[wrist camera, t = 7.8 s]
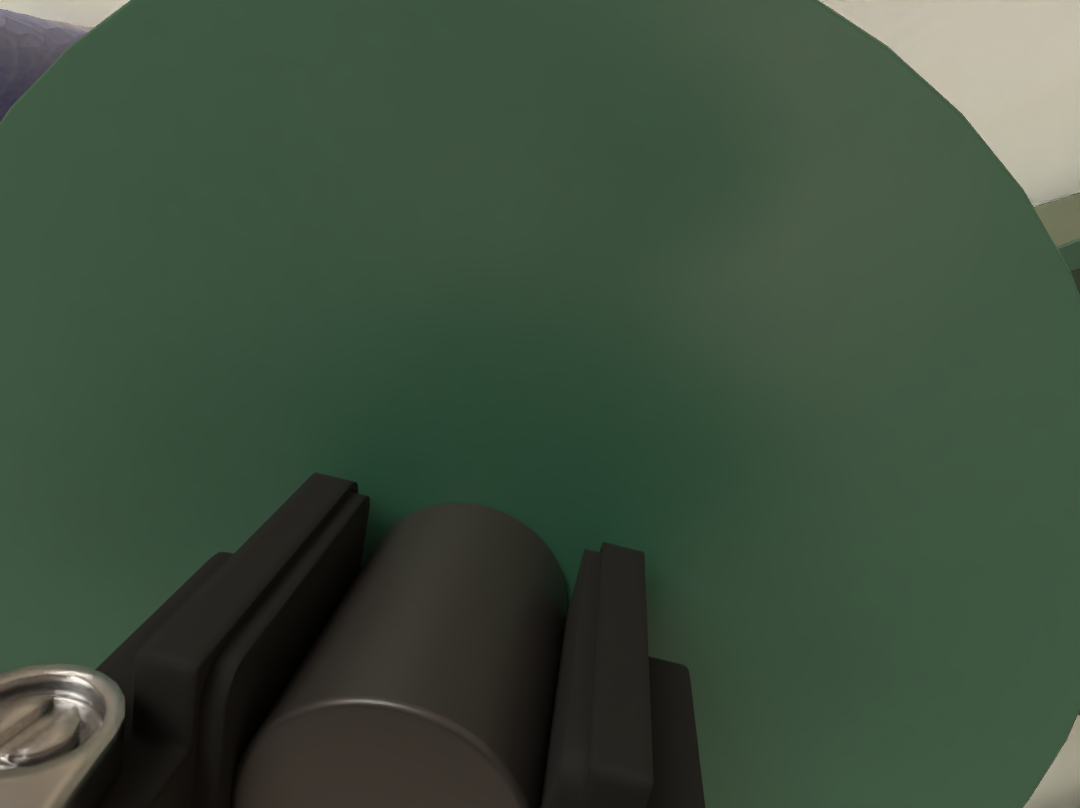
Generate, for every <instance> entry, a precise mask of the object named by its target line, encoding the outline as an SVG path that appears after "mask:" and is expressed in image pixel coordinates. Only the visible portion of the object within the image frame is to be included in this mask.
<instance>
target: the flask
mask: <svg viewBox="0 0 1080 808" xmlns="http://www.w3.org/2000/svg"><path fill="white" fill-rule="evenodd" d="M92 29H93V28H91V27H85V26H79V25H72V24H68V23H63V22H57V21H51V20H44V19H40V18H36V17H33V16H29V15H25V14H19V13H15V12H12V11H8V10H2V9H0V122H1V121H2V119H3V118H4V116H5V115H6V113H7V112H8V110H9V109H10V108H11V106H12V105H13V104H14V103H15V102H16V101H17V100H18V99H19V98H20V97H21V96H22V95H23V94H24V93H25V92H26V91H27V90H28V89H29V88H30V87H31V86H32V85H33V83H34V82H35V81H36V80H37V79H38V78H39V77H40V76H41V75H42V74H43V73H44V72H45V71H46V70H47V69H48V68H49V67H50V66H51V65H52V64H53V63H54V62H55V61H56V60H57V58H58V57H59V56H60V55H61V54H62V53H63V52H64V51H65V50H66V49H67V48H68V47H69V46H71V45H72V44H73V43H75V42H76V41H77V40H79V39H80V38H81V37H83V36H84V35H85V34H86V33H88V32H89V31H90V30H92Z"/></svg>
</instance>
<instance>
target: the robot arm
mask: <svg viewBox="0 0 1080 808" xmlns="http://www.w3.org/2000/svg"><path fill="white" fill-rule="evenodd" d="M369 508H370V498H369V496H366V495H362V494H358V484H357V482H354V481H350V480H346V479H341V478H337V477H333V476H329V475H325V474H321V473H316V472H315V473H314V474H312V475H311V476H310V477H309V478H308V479H307V480H306V481H305V482H304V483H303V484H302V485H301V486H300V487H299V488H298V489H297V490H296V491H295V492H294V493H293V494H292V495H291V496H290V497H289V498H288V499H287V500H286V501H285V502H284V503H283V504H282V505H281V506H280V507H279V508H278V509H277V510H276V512H275V513H274V514H273V515H272V516H271V517H270V518H269V519H268V520H267V521H266V522H265V523H264V524H263V525H262V526H261V527H260V528H259V529H258V530H257V531H256V532H255V533H254V534H253V535H252V536H251V537H250V538H249V539H248V540H247V541H246V542H245V543H244V544H243V545H242V546H241V547H240V548H239V549H238V550H237V551H236V552H235V553H234V554H233V553H229V552H218V553H217V554H215V555H214V556H212V557H211V558H210V559H209V560H208V561H207V562H206V563H205V564H204V565H203V566H202V567H201V568H200V569H199V570H197V571H196V572H195V573H194V574H193V575H192V576H191V577H190V578H189V579H188V580H187V581H186V582H185V583H184V584H183V585H182V586H181V587H180V588H179V589H178V590H177V591H176V592H175V593H174V594H173V595H172V596H171V597H170V598H169V599H167V600H166V601H165V602H164V603H163V604H162V605H161V606H160V607H159V608H158V609H157V610H156V611H155V612H154V613H153V614H152V615H151V616H150V617H149V618H148V619H147V620H146V621H145V622H144V623H143V624H142V625H141V626H140V627H139V628H137V629H136V630H135V631H134V632H133V633H132V634H131V635H130V636H129V637H128V638H127V639H126V640H125V641H124V642H123V643H122V644H121V645H120V646H119V647H118V648H117V649H116V650H115V651H114V652H113V653H112V654H111V655H110V656H109V657H108V658H106V659H105V660H104V661H103V662H102V663H101V664H100V665H99V666H98V667H97V668H96V669H95V670H94V669H91V668H87V667H84V666H81V665H70V664H58V663H53V664H43V665H33V666H25V667H22V668H18V669H14V670H11V671H7V672H3V673H0V808H231V793H232V787H233V781H234V775H235V771H236V768H237V765H238V763H239V760H240V757H241V756H242V754H243V752H244V751H245V749H246V747H247V745H248V744H249V742H250V741H251V739H252V737H253V736H254V734H255V733H256V731H257V730H258V728H259V727H260V725H261V724H262V722H263V720H264V719H265V717H266V716H267V714H268V713H269V711H270V710H271V708H272V706H273V705H274V703H275V702H276V700H277V699H278V697H279V696H280V694H281V692H282V691H283V689H284V688H285V686H286V685H287V683H288V682H289V680H290V678H291V677H292V675H293V674H294V672H295V671H296V669H297V668H298V666H299V664H300V663H301V661H302V660H303V658H304V657H305V655H306V654H307V652H308V651H309V649H310V647H311V646H312V644H313V643H314V641H315V640H316V638H317V637H318V635H319V633H320V632H321V630H322V629H323V627H324V626H325V624H326V623H327V621H328V619H329V618H330V616H331V615H332V613H333V612H334V610H335V609H336V607H337V605H338V604H339V602H340V601H341V599H342V598H343V596H344V595H345V593H346V591H347V590H348V588H349V587H350V585H351V584H352V582H353V581H354V579H355V577H356V576H357V574H358V573H359V571H360V566H361V560H362V554H363V547H364V541H365V534H366V528H367V522H368V515H369ZM540 808H705V800H704V792H703V783H702V775H701V766H700V758H699V749H698V741H697V732H696V723H695V715H694V706H693V698H692V689H691V681H690V674H689V670H688V668H687V667H686V666H685V665H683V664H679V663H675V662H670V661H666V660H662V659H658V658H654V657H650V656H648V631H647V605H646V580H645V555H644V552H643V551H639V550H635V549H631V548H627V547H622V546H618V545H614V544H610V543H606V542H603V543H602V545H601V548H600V551H599V552H597V551H593V550H589V549H585V550H584V552H583V556H582V559H581V563H580V567H579V571H578V575H577V578H576V582H575V586H574V590H573V594H572V598H571V602H570V605H569V609H568V613H567V617H566V621H565V626H564V633H563V641H562V648H561V656H560V663H559V670H558V678H557V685H556V693H555V700H554V707H553V715H552V722H551V730H550V737H549V744H548V752H547V759H546V767H545V774H544V781H543V789H542V796H541V804H540Z"/></svg>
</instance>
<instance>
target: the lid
mask: <svg viewBox="0 0 1080 808" xmlns="http://www.w3.org/2000/svg"><path fill="white" fill-rule="evenodd" d="M315 472H316V473H321V474H325V475H329V476H333V477H337V478H341V479H346V480H350V481H354V482H357V484H358V494H362V495H366V496H369V498H370V508H369V515H368V522H367V528H366V534H365V541H364V547H363V554H362V560H361V566H360V571H359V573H358V574H357V576H356V577H355V579H354V581H353V582H352V584H351V585H350V587H349V588H348V590H347V591H346V593H345V595H344V596H343V598H342V599H341V601H340V602H339V604H338V605H337V607H336V609H335V610H334V612H333V613H332V615H331V616H330V618H329V619H328V621H327V623H326V624H325V626H324V627H323V629H322V630H321V632H320V633H319V635H318V637H317V638H316V640H315V641H314V643H313V644H312V646H311V647H310V649H309V651H308V652H307V654H306V655H305V657H304V658H303V660H302V661H301V663H300V664H299V666H298V668H297V669H296V671H295V672H294V674H293V675H292V677H291V678H290V680H289V682H288V683H287V685H286V686H285V688H284V689H283V691H282V692H281V694H280V696H279V697H278V699H277V700H276V702H275V703H274V705H273V706H272V708H271V710H270V711H269V713H268V714H267V716H266V717H265V719H264V720H263V722H262V724H261V725H260V727H259V728H258V730H257V731H256V733H255V734H254V736H253V737H252V739H251V741H250V742H249V744H248V745H247V747H246V749H245V751H244V752H243V754H242V756H241V757H240V760H239V763H238V765H237V768H236V771H235V775H234V781H233V787H232V793H231V808H540V804H541V796H542V789H543V781H544V774H545V767H546V759H547V752H548V744H549V737H550V730H551V722H552V715H553V707H554V700H555V693H556V685H557V678H558V670H559V663H560V656H561V648H562V641H563V633H564V626H565V621H566V617H567V613H568V609H569V605H570V602H571V598H572V594H573V590H574V586H575V582H576V578H577V575H578V571H579V567H580V563H581V559H582V556H583V552H584V550H585V549H589V550H593V551H597V552H599V551H600V548H601V545H602V543H603V542H606V543H610V544H614V545H618V546H622V547H627V548H631V549H635V550H639V551H643V552H644V555H645V580H646V605H647V631H648V656H650V657H654V658H658V659H662V660H666V661H670V662H675V663H679V664H683V665H685V666H686V667H687V668H688V670H689V674H690V681H691V689H692V698H693V706H694V715H695V723H696V732H697V741H698V749H699V758H700V766H701V775H702V783H703V792H704V800H705V808H1023V806H1024V805H1025V804H1026V803H1027V802H1028V800H1029V799H1030V797H1031V796H1032V794H1033V793H1034V791H1035V789H1036V788H1037V786H1038V785H1039V783H1040V781H1041V780H1042V778H1043V777H1044V775H1045V773H1046V772H1047V770H1048V769H1049V767H1050V766H1051V764H1052V762H1053V761H1054V759H1055V758H1056V756H1057V754H1058V753H1059V751H1060V750H1061V748H1062V746H1063V745H1064V743H1065V742H1066V740H1067V738H1068V735H1069V733H1070V731H1071V729H1072V726H1073V724H1074V722H1075V720H1076V717H1077V715H1078V713H1079V711H1080V295H1079V292H1078V290H1077V287H1076V285H1075V282H1074V279H1073V277H1072V274H1071V272H1070V269H1069V268H1068V266H1067V264H1066V263H1065V261H1064V259H1063V257H1062V256H1061V254H1060V252H1059V250H1058V249H1057V247H1056V245H1055V244H1054V242H1053V240H1052V238H1051V237H1050V235H1049V233H1048V231H1047V230H1046V228H1045V226H1044V225H1043V223H1042V221H1041V219H1040V218H1039V216H1038V214H1037V212H1036V211H1035V209H1034V207H1033V205H1032V204H1031V202H1030V200H1029V199H1028V197H1027V195H1026V193H1025V192H1024V190H1023V189H1022V187H1021V186H1020V185H1019V184H1018V182H1017V181H1016V180H1015V179H1014V177H1013V176H1012V175H1011V174H1010V172H1009V171H1008V170H1007V169H1006V168H1005V166H1004V165H1003V164H1002V163H1001V161H1000V160H999V159H998V158H997V156H996V155H995V154H994V153H993V151H992V150H991V149H990V148H989V147H988V145H987V144H986V143H985V142H984V140H983V139H982V138H981V137H980V135H979V134H978V133H977V132H976V130H975V129H974V128H973V127H972V126H971V124H970V123H969V122H968V121H967V119H966V118H965V117H964V116H963V114H962V113H961V112H960V111H958V110H957V109H956V108H955V107H954V106H953V105H952V104H951V103H950V102H948V101H947V100H946V99H945V98H944V97H943V96H942V95H941V94H940V93H939V92H937V91H936V90H935V89H934V88H933V87H932V86H931V85H930V84H929V83H928V82H926V81H925V80H924V79H923V78H922V77H921V76H920V75H919V74H918V73H917V72H915V71H914V70H913V69H912V68H911V67H910V66H909V65H908V64H907V63H906V62H904V61H903V60H902V59H901V58H900V57H899V56H898V55H897V54H896V53H895V52H893V51H892V50H891V49H890V48H889V47H888V46H886V45H885V44H883V43H882V42H880V41H879V40H877V39H876V38H874V37H873V36H871V35H870V34H868V33H867V32H865V31H864V30H862V29H861V28H859V27H858V26H856V25H855V24H853V23H852V22H850V21H849V20H847V19H846V18H844V17H843V16H841V15H840V14H838V13H837V12H835V11H834V10H832V9H831V8H829V7H828V6H826V5H825V4H823V3H822V2H820V1H819V0H130V1H129V2H128V3H126V4H125V5H124V6H122V7H121V8H120V9H118V10H117V11H116V12H114V13H113V14H112V15H110V16H109V17H108V18H106V19H105V20H104V21H102V22H101V23H100V24H98V25H97V26H96V27H94V28H93V29H92V30H90V31H89V32H88V33H86V34H85V35H84V36H83V37H81V38H80V39H79V40H77V41H76V42H75V43H73V44H72V45H71V46H69V47H68V48H67V49H66V50H65V51H64V52H63V53H62V54H61V55H60V56H59V57H58V58H57V60H56V61H55V62H54V63H53V64H52V65H51V66H50V67H49V68H48V69H47V70H46V71H45V72H44V73H43V74H42V75H41V76H40V77H39V78H38V79H37V80H36V81H35V82H34V83H33V85H32V86H31V87H30V88H29V89H28V90H27V91H26V92H25V93H24V94H23V95H22V96H21V97H20V98H19V99H18V100H17V101H16V102H15V103H14V104H13V105H12V106H11V108H10V109H9V110H8V112H7V113H6V115H5V116H4V118H3V119H2V121H1V122H0V673H3V672H7V671H11V670H14V669H18V668H22V667H25V666H33V665H43V664H53V663H58V664H70V665H81V666H84V667H87V668H91V669H94V670H95V669H96V668H97V667H98V666H99V665H100V664H101V663H102V662H103V661H104V660H105V659H106V658H108V657H109V656H110V655H111V654H112V653H113V652H114V651H115V650H116V649H117V648H118V647H119V646H120V645H121V644H122V643H123V642H124V641H125V640H126V639H127V638H128V637H129V636H130V635H131V634H132V633H133V632H134V631H135V630H136V629H137V628H139V627H140V626H141V625H142V624H143V623H144V622H145V621H146V620H147V619H148V618H149V617H150V616H151V615H152V614H153V613H154V612H155V611H156V610H157V609H158V608H159V607H160V606H161V605H162V604H163V603H164V602H165V601H166V600H167V599H169V598H170V597H171V596H172V595H173V594H174V593H175V592H176V591H177V590H178V589H179V588H180V587H181V586H182V585H183V584H184V583H185V582H186V581H187V580H188V579H189V578H190V577H191V576H192V575H193V574H194V573H195V572H196V571H197V570H199V569H200V568H201V567H202V566H203V565H204V564H205V563H206V562H207V561H208V560H209V559H210V558H211V557H212V556H214V555H215V554H217V553H218V552H229V553H233V554H234V553H235V552H236V551H237V550H238V549H239V548H240V547H241V546H242V545H243V544H244V543H245V542H246V541H247V540H248V539H249V538H250V537H251V536H252V535H253V534H254V533H255V532H256V531H257V530H258V529H259V528H260V527H261V526H262V525H263V524H264V523H265V522H266V521H267V520H268V519H269V518H270V517H271V516H272V515H273V514H274V513H275V512H276V510H277V509H278V508H279V507H280V506H281V505H282V504H283V503H284V502H285V501H286V500H287V499H288V498H289V497H290V496H291V495H292V494H293V493H294V492H295V491H296V490H297V489H298V488H299V487H300V486H301V485H302V484H303V483H304V482H305V481H306V480H307V479H308V478H309V477H310V476H311V475H312V474H314V473H315Z"/></svg>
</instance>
